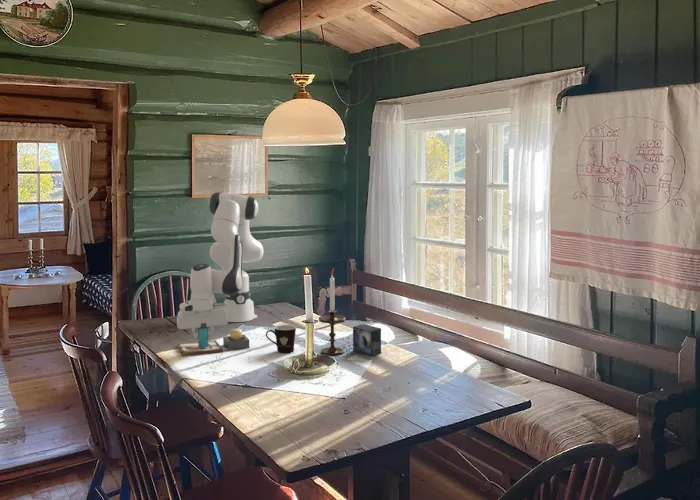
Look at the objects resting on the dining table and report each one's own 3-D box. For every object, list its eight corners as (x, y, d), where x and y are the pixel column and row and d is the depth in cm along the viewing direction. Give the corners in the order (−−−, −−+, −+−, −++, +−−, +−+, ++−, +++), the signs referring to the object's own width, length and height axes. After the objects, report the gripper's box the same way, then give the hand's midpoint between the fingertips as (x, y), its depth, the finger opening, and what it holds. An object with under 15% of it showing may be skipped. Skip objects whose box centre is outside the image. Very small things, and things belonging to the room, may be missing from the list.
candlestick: (351, 352, 274) (351, 267, 270) (332, 357, 266) (332, 270, 262) (331, 347, 281) (331, 264, 277) (313, 352, 273) (312, 267, 269)
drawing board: (177, 346, 282) (177, 343, 282) (215, 343, 288) (215, 339, 288) (182, 356, 268) (182, 353, 268) (222, 352, 274) (222, 348, 274)
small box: (351, 351, 275) (351, 326, 274) (363, 348, 280) (363, 323, 279) (370, 356, 268) (370, 330, 267) (381, 353, 272) (381, 328, 271)
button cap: (228, 338, 284) (228, 329, 283) (240, 337, 286) (240, 328, 285) (231, 341, 279) (231, 332, 279) (243, 340, 281) (243, 330, 281)
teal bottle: (197, 345, 276) (196, 321, 275) (207, 344, 278) (206, 320, 277) (199, 348, 273) (198, 324, 271) (209, 347, 274) (208, 323, 273)
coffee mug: (300, 350, 277) (300, 326, 275) (288, 355, 269) (287, 331, 268) (277, 346, 283) (277, 323, 281) (264, 351, 275) (264, 327, 274)
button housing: (223, 344, 285) (223, 336, 285) (244, 342, 289) (244, 334, 288) (227, 350, 277) (227, 341, 277) (249, 347, 280) (249, 339, 280)
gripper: (225, 300, 280) (226, 333, 282) (175, 304, 272) (176, 338, 274) (229, 303, 274) (230, 337, 276) (177, 308, 266) (179, 342, 268)
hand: (203, 337), depth 275 cm, fingers closed on teal bottle, 4 cm apart
